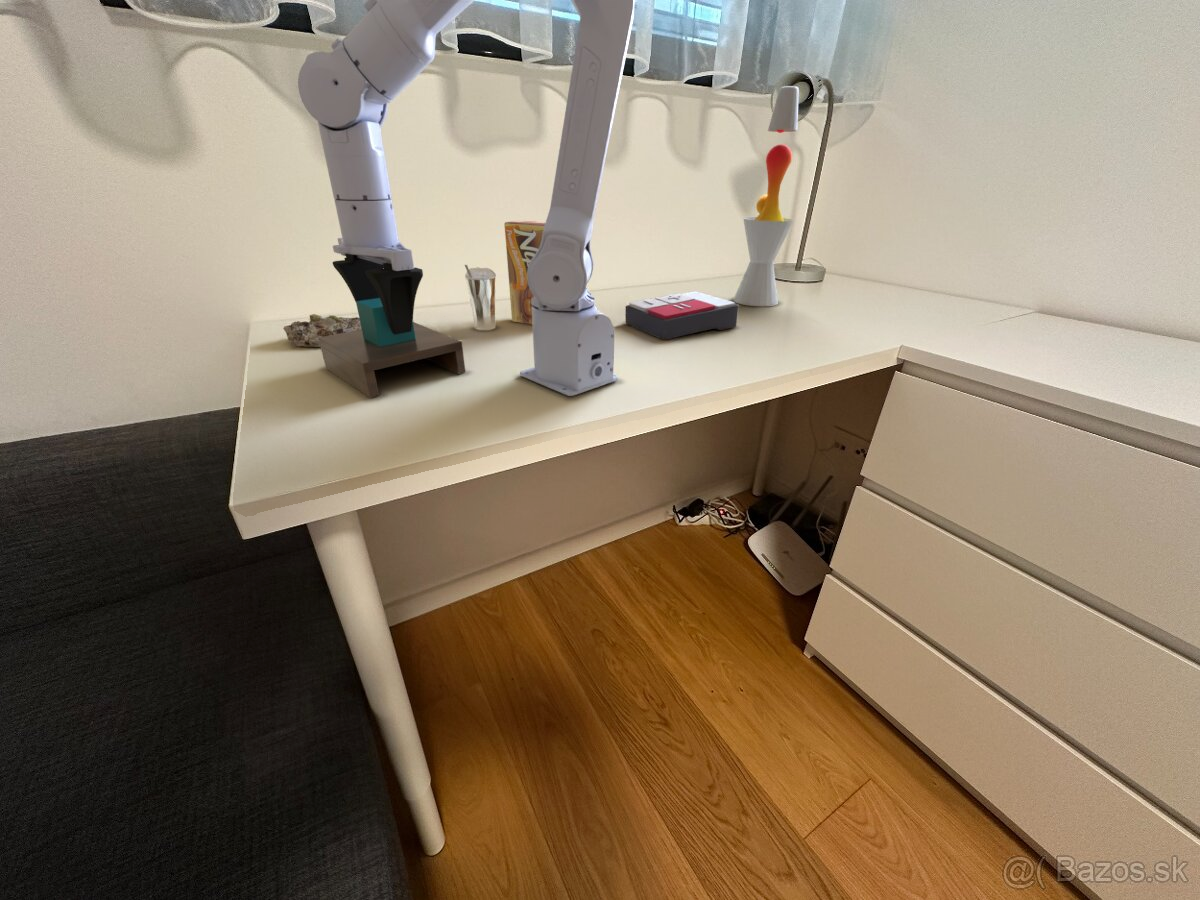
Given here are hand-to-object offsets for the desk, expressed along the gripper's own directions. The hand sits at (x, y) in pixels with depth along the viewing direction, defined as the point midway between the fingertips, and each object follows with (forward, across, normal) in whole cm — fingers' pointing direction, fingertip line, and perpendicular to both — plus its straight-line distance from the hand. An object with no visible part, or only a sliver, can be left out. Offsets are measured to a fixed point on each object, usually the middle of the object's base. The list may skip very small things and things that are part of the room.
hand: (387, 325), depth 61 cm
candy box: (+6, -6, +28) cm, 29 cm away
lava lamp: (+6, +10, +70) cm, 71 cm away
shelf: (+6, 0, 0) cm, 6 cm away
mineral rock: (+6, -19, -1) cm, 20 cm away
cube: (+2, 0, 0) cm, 2 cm away
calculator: (+6, +11, +44) cm, 46 cm away
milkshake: (+6, -9, +19) cm, 22 cm away
